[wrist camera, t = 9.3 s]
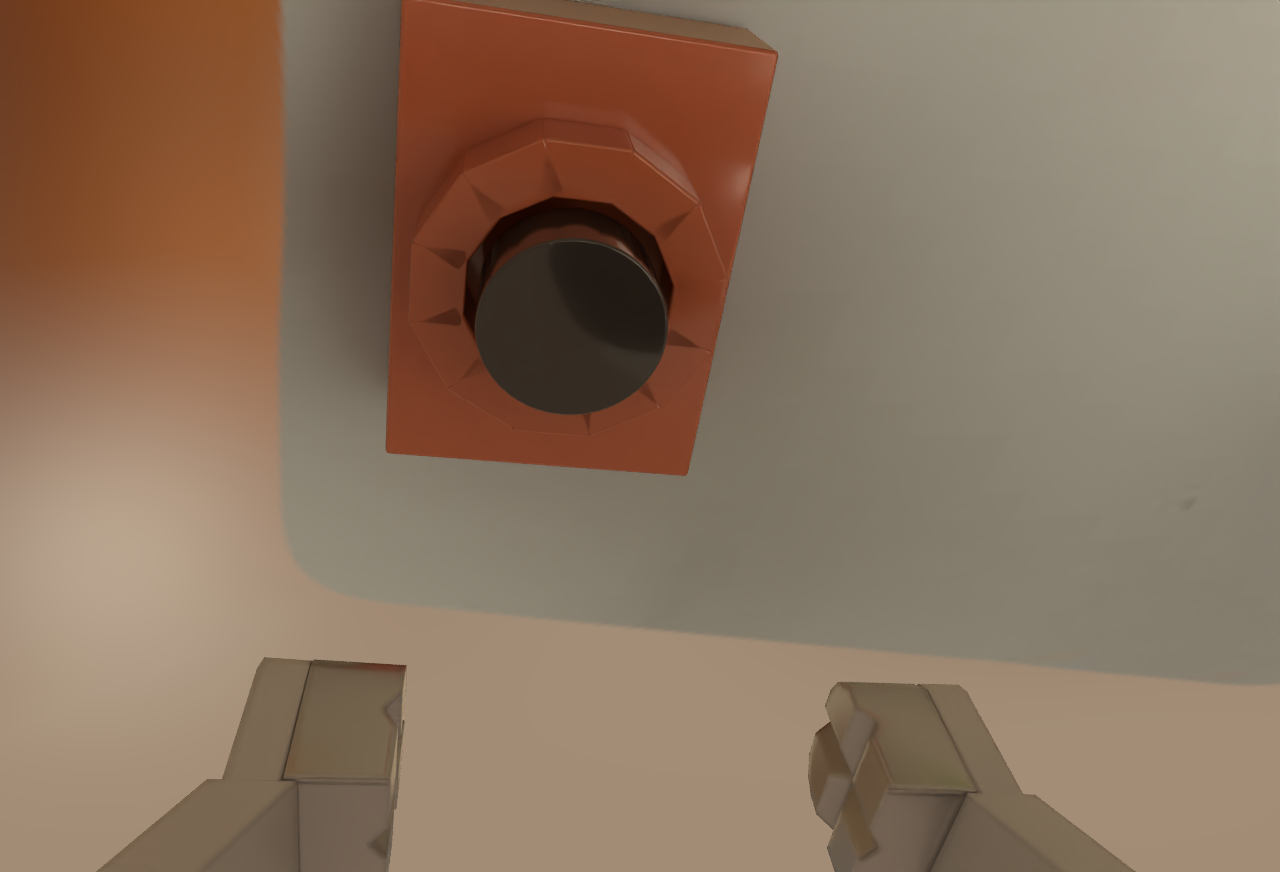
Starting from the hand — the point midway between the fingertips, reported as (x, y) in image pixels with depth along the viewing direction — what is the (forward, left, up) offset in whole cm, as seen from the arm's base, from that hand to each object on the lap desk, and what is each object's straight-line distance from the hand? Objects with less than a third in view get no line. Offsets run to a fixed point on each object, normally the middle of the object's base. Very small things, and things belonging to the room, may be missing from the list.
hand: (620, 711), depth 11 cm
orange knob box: (0, 0, -17) cm, 17 cm away
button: (0, 0, -13) cm, 13 cm away
